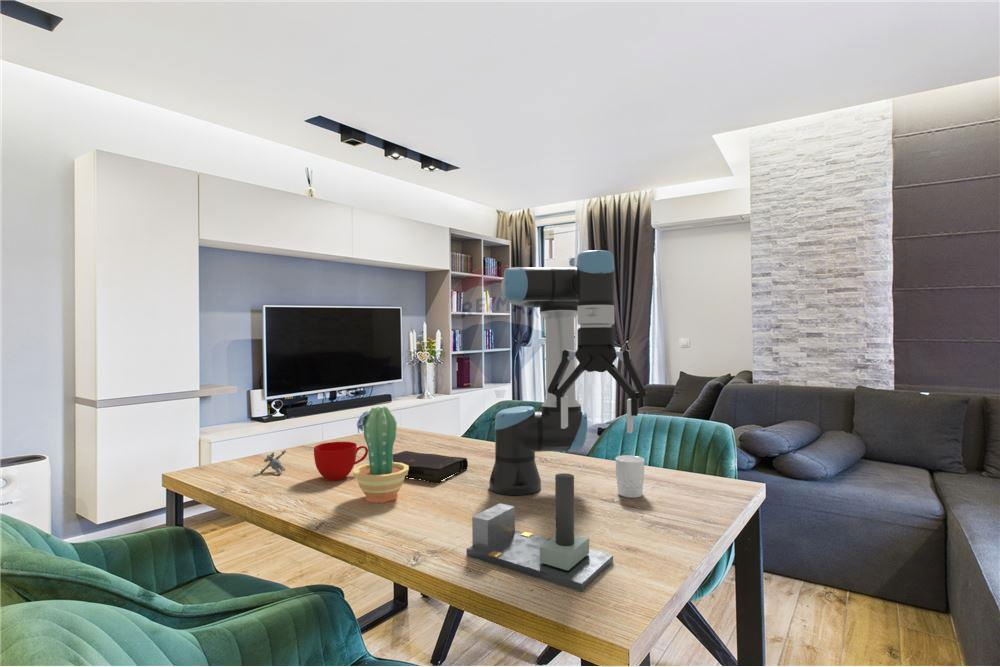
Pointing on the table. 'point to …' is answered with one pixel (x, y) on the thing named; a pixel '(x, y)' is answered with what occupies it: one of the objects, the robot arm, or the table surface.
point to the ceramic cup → (336, 459)
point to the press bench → (527, 550)
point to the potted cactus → (380, 457)
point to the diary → (430, 465)
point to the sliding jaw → (564, 529)
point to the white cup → (630, 475)
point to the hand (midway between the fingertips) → (596, 429)
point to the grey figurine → (274, 463)
